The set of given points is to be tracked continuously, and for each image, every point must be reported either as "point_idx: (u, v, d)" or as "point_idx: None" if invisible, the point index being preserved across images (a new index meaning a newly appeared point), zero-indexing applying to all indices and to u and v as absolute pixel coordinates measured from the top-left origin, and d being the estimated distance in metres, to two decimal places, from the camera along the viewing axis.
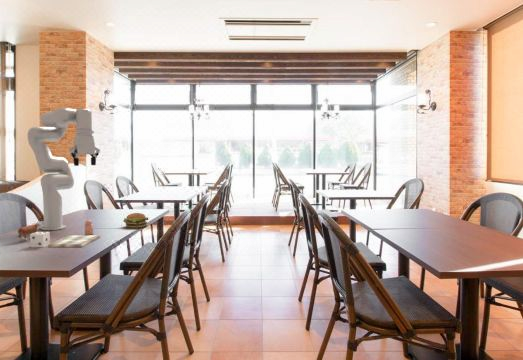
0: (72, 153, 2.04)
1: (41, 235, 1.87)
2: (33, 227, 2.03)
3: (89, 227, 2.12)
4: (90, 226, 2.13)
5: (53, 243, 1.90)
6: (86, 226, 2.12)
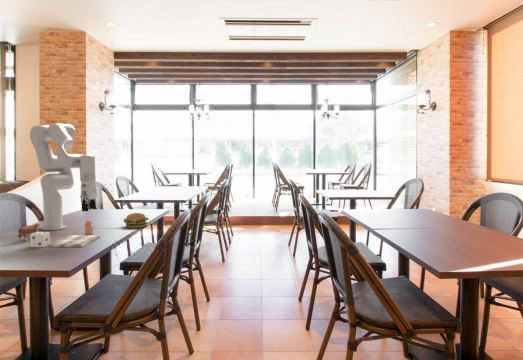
0: None
1: (41, 235, 1.87)
2: (33, 227, 2.03)
3: (89, 227, 2.12)
4: (90, 226, 2.13)
5: (53, 243, 1.90)
6: (86, 226, 2.12)
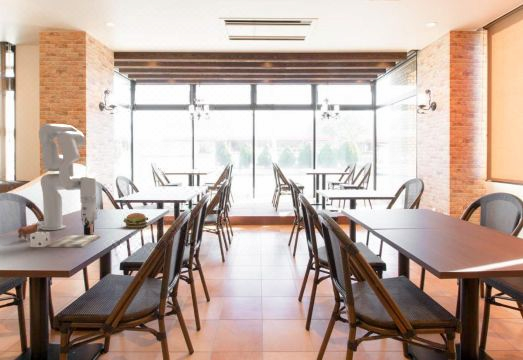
0: None
1: (41, 235, 1.87)
2: (33, 227, 2.03)
3: None
4: (90, 226, 2.13)
5: (53, 243, 1.90)
6: None
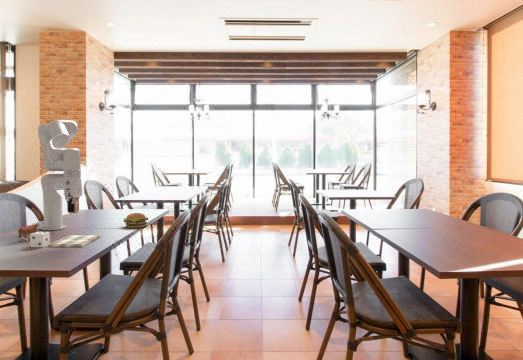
0: None
1: (41, 235, 1.87)
2: (33, 227, 2.03)
3: None
4: (74, 203, 1.94)
5: (53, 243, 1.90)
6: None
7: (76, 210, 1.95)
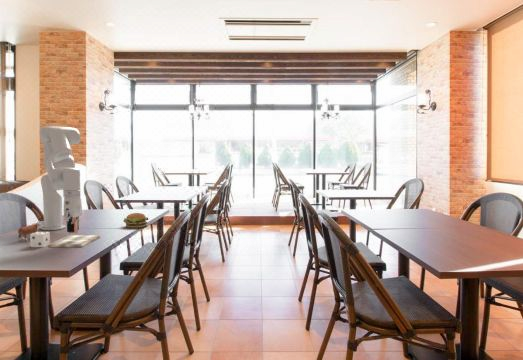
0: None
1: (41, 235, 1.87)
2: (33, 227, 2.03)
3: None
4: (74, 222, 1.94)
5: (53, 243, 1.90)
6: None
7: (76, 230, 1.95)
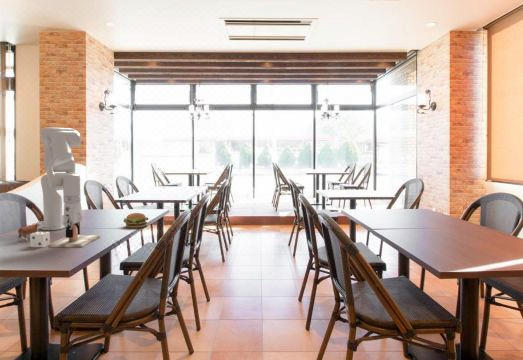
0: None
1: (41, 235, 1.87)
2: (33, 227, 2.03)
3: (73, 232, 1.94)
4: (74, 231, 1.94)
5: (53, 243, 1.90)
6: None
7: (76, 238, 1.95)
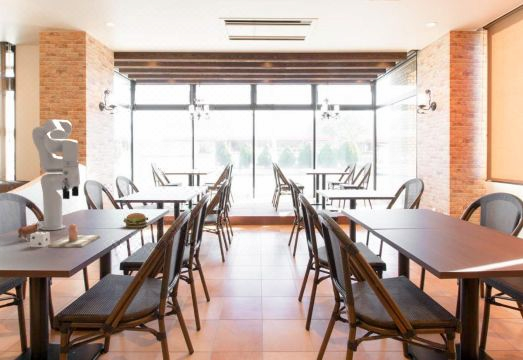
0: None
1: (41, 235, 1.87)
2: (33, 227, 2.03)
3: (73, 232, 1.94)
4: (74, 231, 1.94)
5: (53, 243, 1.90)
6: (70, 231, 1.94)
7: (76, 238, 1.95)
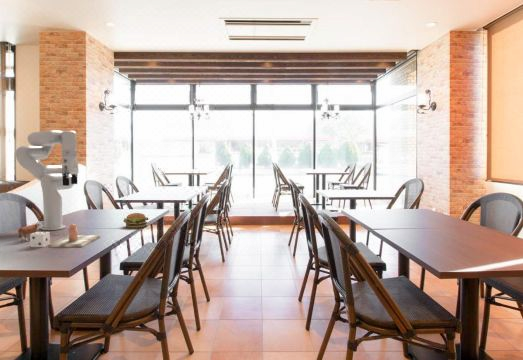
0: None
1: (41, 235, 1.87)
2: (33, 227, 2.03)
3: (73, 232, 1.94)
4: (74, 231, 1.94)
5: (53, 243, 1.90)
6: (70, 231, 1.94)
7: (76, 238, 1.95)
